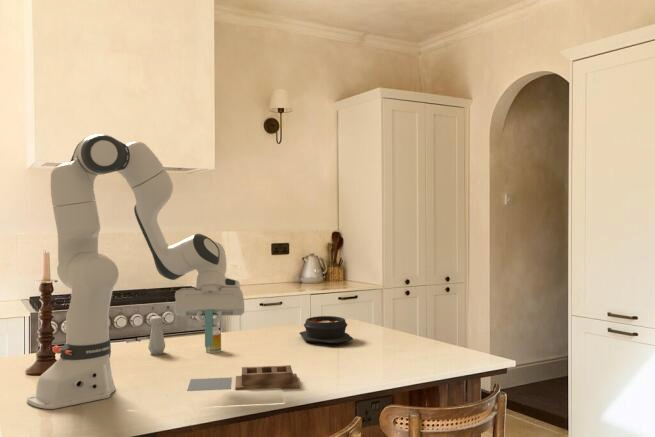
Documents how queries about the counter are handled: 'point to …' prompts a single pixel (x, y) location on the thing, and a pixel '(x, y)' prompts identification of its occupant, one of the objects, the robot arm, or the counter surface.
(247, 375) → the rack
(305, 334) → the casserole
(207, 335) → the teal rectangular block
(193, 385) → the mat
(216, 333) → the supplement bottle
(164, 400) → the counter surface
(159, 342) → the salt shaker
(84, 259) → the robot arm
